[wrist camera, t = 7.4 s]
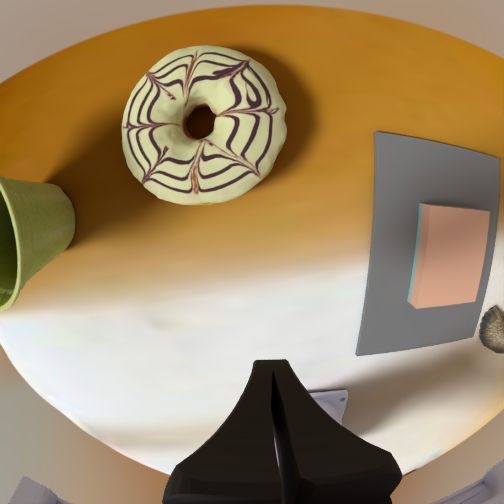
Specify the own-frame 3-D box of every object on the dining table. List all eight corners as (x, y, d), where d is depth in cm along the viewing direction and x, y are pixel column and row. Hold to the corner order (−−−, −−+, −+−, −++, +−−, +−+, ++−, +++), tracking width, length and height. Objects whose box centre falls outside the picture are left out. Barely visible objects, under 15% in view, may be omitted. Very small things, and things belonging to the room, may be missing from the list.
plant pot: (24, 271, 21) (-37, 304, 13) (13, 172, 19) (-55, 180, 11) (98, 273, 21) (36, 320, 13) (89, 156, 19) (13, 153, 11)
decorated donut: (278, 56, 17) (283, 34, 14) (284, 199, 20) (291, 204, 16) (138, 69, 18) (119, 53, 14) (140, 206, 20) (118, 213, 17)
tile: (407, 300, 21) (465, 295, 21) (416, 308, 20) (475, 301, 20) (419, 203, 19) (478, 208, 19) (430, 205, 18) (489, 211, 18)
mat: (471, 335, 23) (473, 337, 23) (355, 353, 23) (356, 356, 23) (497, 158, 18) (500, 158, 18) (374, 132, 19) (376, 131, 18)
